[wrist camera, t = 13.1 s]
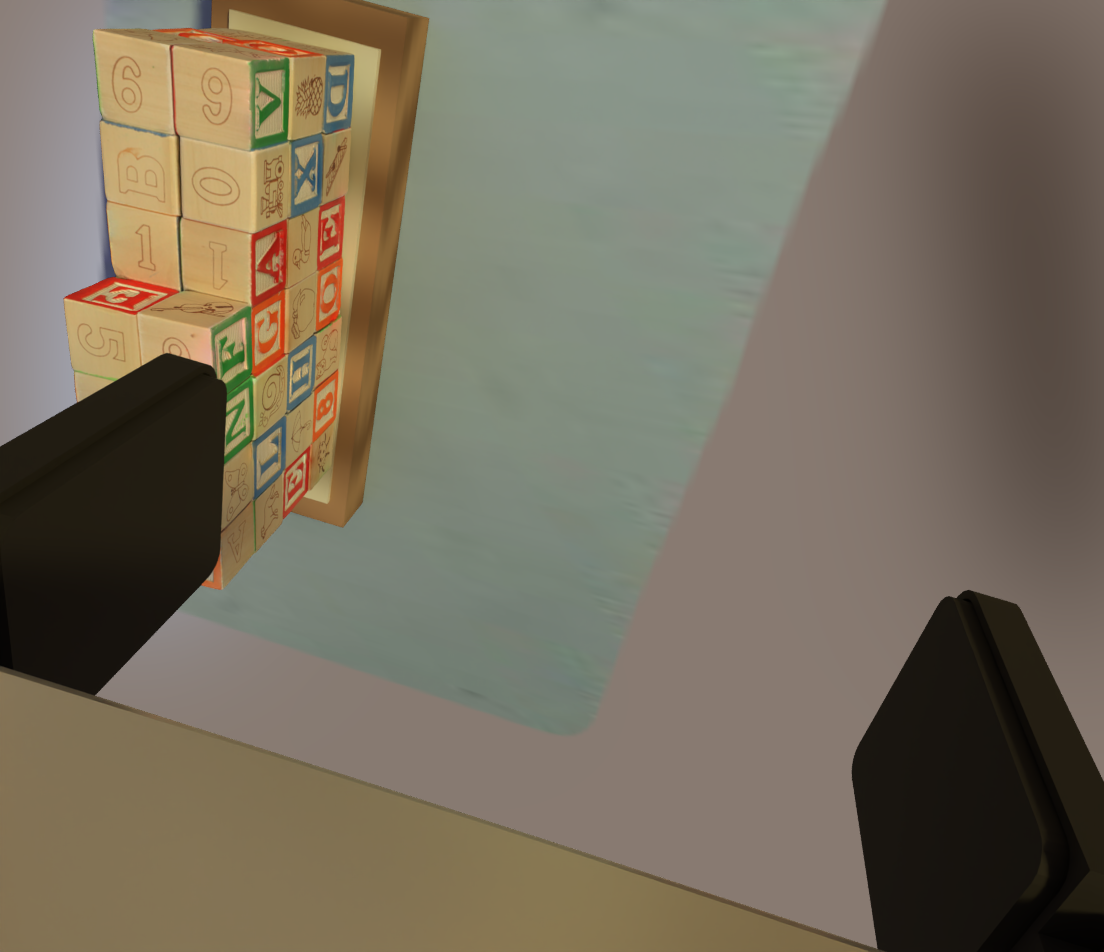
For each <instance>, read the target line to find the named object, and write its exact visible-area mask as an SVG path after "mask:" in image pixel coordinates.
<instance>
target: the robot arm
mask: <svg viewBox="0 0 1104 952" xmlns="http://www.w3.org/2000/svg"><path fill="white" fill-rule="evenodd" d="M226 407H227V388H226V384H225V383H224V381H223V380H220V379H217V375H216V372H215V369H214V368H213V367H212V366H211V365H208V364H204V363H201V362H198V361H194V360H191V359H188V358H184V357H181V356H177V355H174V354H170V353H165V354H162V355H160V356H158V357H156V358H154V359H153V360H151V361H149V362H147V363H146V364H144V365H142V366H140V367H139V368H137V369H135V370H133V371H132V372H130V373H128V374H126V375H125V376H123V377H121V378H119V379H118V380H116V381H114V382H112V383H111V384H109V385H107V386H105V387H104V388H102V389H100V390H98V391H97V392H95V393H93V394H91V395H90V396H88V397H86V398H84V399H83V400H81V401H79V402H77V403H76V404H74V405H72V406H70V407H69V408H67V409H65V410H63V411H62V412H60V413H58V414H56V415H55V416H53V417H51V418H50V419H48V420H46V421H44V422H43V423H41V424H39V425H37V426H35V427H34V428H32V429H30V430H28V431H27V432H25V433H23V434H22V435H20V436H18V437H16V438H15V439H13V440H11V441H9V442H7V443H6V444H4V445H2V446H1V447H0V952H1104V781H1103V779H1102V777H1101V775H1100V773H1099V771H1098V769H1097V767H1096V765H1095V763H1094V761H1093V758H1092V756H1091V754H1090V752H1089V750H1088V748H1087V746H1086V744H1085V742H1084V740H1083V738H1082V736H1081V734H1080V731H1079V729H1078V727H1077V725H1076V723H1075V721H1074V719H1073V717H1072V715H1071V713H1070V711H1069V709H1068V707H1067V705H1066V702H1065V701H1064V698H1063V697H1062V694H1061V692H1060V690H1059V688H1058V686H1057V684H1056V682H1055V680H1054V678H1053V675H1052V673H1051V671H1050V669H1049V667H1048V665H1047V663H1046V661H1045V659H1044V657H1043V655H1042V653H1041V651H1040V648H1039V646H1038V644H1037V642H1036V640H1035V638H1034V636H1033V634H1032V632H1031V630H1030V628H1029V626H1028V624H1027V621H1026V620H1025V617H1024V615H1023V613H1022V611H1021V609H1020V608H1019V607H1018V606H1017V604H1014V603H1011V602H1008V601H1004V600H1001V599H998V598H994V597H991V596H988V595H984V594H980V593H977V592H974V591H971V590H967V591H964V592H962V593H961V594H960V595H959V596H958V597H957V598H953V597H950V596H948V597H945V598H944V599H943V600H942V601H941V602H940V603H939V605H938V606H937V608H936V610H935V611H934V613H933V615H932V617H931V619H930V620H929V622H928V624H927V625H926V627H925V629H924V631H923V632H922V634H921V636H920V638H919V640H918V642H917V643H916V645H915V647H914V648H913V650H912V652H911V654H910V656H909V657H908V659H907V661H906V662H905V664H904V666H903V668H902V669H901V671H900V673H899V675H898V677H897V679H896V680H895V682H894V684H893V685H892V687H891V689H890V691H889V692H888V694H887V696H886V698H885V699H884V701H883V703H882V705H881V707H880V708H879V710H878V712H877V714H876V715H875V717H874V719H873V721H872V722H871V724H870V726H869V728H868V729H867V731H866V733H865V735H864V736H863V738H862V740H861V742H860V743H859V745H858V747H857V750H856V752H855V755H854V759H853V764H852V781H853V788H854V794H855V801H856V808H857V815H858V821H859V828H860V835H861V841H862V848H863V855H864V861H865V868H866V874H867V881H868V888H869V894H870V901H871V908H872V915H873V921H874V928H875V935H876V941H877V948H878V949H876V948H873V947H870V946H867V945H864V944H861V943H858V942H855V941H852V940H849V939H846V938H843V937H840V936H837V935H834V934H831V933H828V932H825V931H822V930H819V929H816V928H813V927H810V926H807V925H804V924H801V923H798V922H795V921H792V920H789V919H786V918H783V917H779V916H776V915H774V914H770V913H767V912H764V911H761V910H758V909H755V908H752V907H749V906H746V905H743V904H740V903H737V902H734V901H731V900H728V899H725V898H722V897H719V896H716V895H713V894H710V893H707V892H704V891H700V890H697V889H694V888H691V887H688V886H685V885H682V884H679V883H676V882H673V881H670V880H667V879H664V878H661V877H658V876H655V875H652V874H649V873H646V872H643V871H640V870H637V869H634V868H631V867H627V866H625V865H622V864H618V863H615V862H612V861H609V860H606V859H603V858H600V857H597V856H594V855H591V854H588V853H585V852H582V851H579V850H575V849H573V848H569V847H566V846H563V845H560V844H557V843H554V842H551V841H548V840H545V839H542V838H539V837H535V836H532V835H529V834H526V833H523V832H520V831H517V830H514V829H511V828H508V827H505V826H501V825H499V824H495V823H492V822H489V821H486V820H483V819H480V818H477V817H474V816H471V815H468V814H465V813H461V812H458V811H455V810H452V809H449V808H446V807H443V806H439V805H436V804H433V803H430V802H427V801H424V800H421V799H418V798H415V797H412V796H408V795H405V794H402V793H399V792H396V791H393V790H390V789H387V788H384V787H381V786H378V785H374V784H371V783H368V782H365V781H362V780H359V779H356V778H353V777H350V776H347V775H343V774H340V773H337V772H334V771H331V770H328V769H325V768H321V767H319V766H315V765H312V764H309V763H306V762H303V761H300V760H296V759H293V758H290V757H287V756H284V755H280V754H278V753H274V752H271V751H268V750H265V749H262V748H258V747H255V746H252V745H249V744H246V743H243V742H240V741H236V740H233V739H230V738H227V737H224V736H221V735H217V734H214V733H211V732H208V731H205V730H202V729H199V728H195V727H192V726H189V725H186V724H182V723H180V722H176V721H173V720H170V719H167V718H163V717H160V716H157V715H154V714H151V713H148V712H145V711H142V710H138V709H135V708H132V707H129V706H126V705H123V704H120V703H116V702H113V701H110V700H107V699H103V698H101V697H97V696H95V695H96V694H97V693H98V692H99V691H100V690H101V689H102V688H103V687H104V686H105V685H106V683H107V682H108V681H109V680H110V679H111V678H112V677H113V676H114V675H115V674H116V673H117V672H118V671H119V670H120V669H121V668H122V667H123V666H124V665H125V664H126V663H127V662H128V661H129V660H130V658H131V657H132V656H133V655H134V654H135V653H136V652H137V651H138V650H139V649H140V648H141V647H142V646H143V645H144V644H145V643H146V642H147V641H148V640H149V639H150V638H151V636H152V635H153V634H154V633H155V632H156V631H157V630H158V629H159V628H160V627H161V626H162V625H163V624H164V623H165V622H166V621H167V620H168V619H169V618H170V617H171V616H172V615H173V614H174V613H175V612H176V611H177V610H178V608H179V607H180V606H181V605H182V604H183V603H184V602H185V601H186V600H187V599H188V598H189V597H190V596H191V595H192V594H193V593H194V592H195V591H196V590H197V589H198V588H199V587H200V586H201V585H202V583H203V582H204V581H205V580H206V579H207V578H208V577H209V576H210V575H211V573H212V572H213V570H214V568H215V566H216V564H217V561H218V558H219V555H220V548H221V524H222V501H223V478H224V454H225V431H226Z"/></svg>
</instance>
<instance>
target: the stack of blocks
mask: <svg viewBox="0 0 1104 952" xmlns="http://www.w3.org/2000/svg"><path fill="white" fill-rule="evenodd" d="M93 45H94V54H95V64H96V75H97V88H98V98H99V109H100V112H101V115H102V119H101V121H100V136H101V149H102V161H103V171H104V183H105V194H106V198H107V205H106V213H107V222H108V233H109V241H110V250H111V260H112V266H113V269H114V272H115V274H116V277H111V278H107V279H105V280H102V281H100V282H98V283H96V284H94V285H92V286H89V287H87V288H84V289H81V290H80V291H77V292H75V293H72V294H70V295H68V296H66V297H65V298H64V309H65V318H66V325H67V333H68V341H69V350H70V357H71V365H72V368H73V370H74V380H75V392H76V399H77V402H79V401H81V400H83V399H84V398H86V397H88V396H90V395H91V394H93V393H95V392H97V391H98V390H100V389H102V388H104V387H105V386H107V385H109V384H111V383H112V382H114V381H116V380H118V379H119V378H121V377H123V376H125V375H126V374H128V373H130V372H132V371H133V370H135V369H137V368H139V367H140V366H142V365H144V364H146V363H147V362H149V361H151V360H153V359H154V358H156V357H158V356H160V355H162V354H165V353H170V354H174V355H177V356H181V357H184V358H188V359H191V360H194V361H198V362H201V363H204V364H208V365H211V366H212V367H213V368H214V369H215V372H216V375H217V379H220V380H223V381H224V383H225V384H226V388H227V407H226V431H225V454H224V478H223V501H222V524H221V548H220V555H219V558H218V561H217V564H216V566H215V568H214V570H213V572H212V573H211V575H210V576H209V577H208V578H207V579H206V580H205V581H204V582H203V583H202V586H206V587H210V588H214V589H219V590H222V589H223V588H224V587H225V586H226V585H227V584H228V583H229V582H230V581H231V579H232V578H233V577H234V576H235V575H236V574H237V573H238V571H239V570H240V569H241V568H242V567H243V566H244V564H245V563H246V562H247V561H248V560H249V558H250V557H251V556H252V555H253V554H254V553H256V552H257V551H258V550H259V549H260V547H261V546H262V545H263V543H265V542H266V541H267V539H268V538H269V537H270V536H271V535H272V534H273V533H274V532H275V531H276V529H277V528H278V527H279V526H280V525H281V523H282V520H283V519H284V518H285V517H286V516H287V515H288V514H289V513H290V512H291V511H292V509H293V508H294V507H295V506H296V505H297V503H298V502H299V501H300V500H301V499H302V498H303V496H304V495H305V494H306V493H307V491H310V490H312V489H313V487H314V486H315V485H316V484H317V483H318V482H319V480H320V479H321V478H322V477H323V475H324V474H325V473H326V472H327V471H328V470H329V468H330V467H331V465H332V449H333V433H334V420H335V418H336V409H337V391H338V373H339V372H338V368H339V359H340V344H341V326H342V317H341V315H340V307H341V287H342V269H343V258H342V248H343V235H344V215H345V195H346V194H347V192H348V181H349V162H350V147H351V126H350V125H351V119H352V103H353V83H354V66H355V58H354V55H353V54H352V53H347V52H342V51H337V50H332V49H328V48H323V47H318V46H313V45H308V44H304V43H299V42H294V41H289V40H286V39H283V38H278V37H273V36H269V35H264V34H259V33H254V32H249V31H243V30H236V29H228V28H209V29H197V30H196V29H192V28H182V29H158V30H147V29H96V30H94V31H93Z"/></svg>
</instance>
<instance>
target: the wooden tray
mask: <svg viewBox="0 0 1104 952" xmlns="http://www.w3.org/2000/svg"><path fill="white" fill-rule="evenodd" d="M428 23H429V18H426V17H423V16H419V15H415V14H411V13H408V12H404V11H400V10H396V9H393V8H389V7H385V6H381V5H378V4H374V3H370V2H366V1H363V0H212V17H211V28H228V29H236V30H243V31H249V32H254V33H259V34H264V35H269V36H273V37H278V38H283V39H286V40H289V41H294V42H299V43H304V44H308V45H313V46H318V47H323V48H328V49H332V50H337V51H342V52H347V53H352V54H353V55H354V58H355V66H354V83H353V103H352V119H351V125H350V126H351V147H350V162H349V181H348V192H347V194H346V195H345V215H344V235H343V248H342V258H343V269H342V287H341V307H340V315H341V317H342V326H341V344H340V359H339V368H338V372H339V373H338V391H337V409H336V418H335V420H334V433H333V449H332V465H331V467H330V468H329V470H328V471H327V472H326V473H325V474H324V475H323V477H322V478H321V479H320V480H319V482H318V483H317V484H316V485H315V486H314V487H313V489H312V490H310V491H307V493H306V494H305V495H304V496H303V498H302V499H301V500H300V501H299V502H298V503H297V505H296V506H295V507H294V508H293V509H292V511H291V512H293V513H297V514H300V515H303V516H307V517H310V518H313V519H316V520H320V521H323V522H326V523H329V524H333V525H336V526H339V527H344V526H345V524H346V523H347V522H348V521H349V519H350V518H351V517H352V515H353V514H354V513H355V512H356V510H357V509H358V508H359V507H360V505H361V504H362V502H363V495H364V488H365V480H366V473H367V466H368V459H369V451H370V444H371V437H372V430H373V422H374V415H375V408H376V400H377V393H378V386H379V379H380V371H381V364H382V357H383V350H384V342H385V335H386V328H387V321H388V313H389V306H390V299H391V292H392V284H393V277H394V270H395V262H396V255H397V248H398V241H399V233H400V226H401V219H402V212H403V204H404V197H405V190H406V183H407V175H408V168H409V161H410V154H411V146H412V139H413V132H414V124H415V117H416V110H417V103H418V95H419V88H420V81H421V74H422V66H423V59H424V52H425V45H426V37H427V30H428Z"/></svg>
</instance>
